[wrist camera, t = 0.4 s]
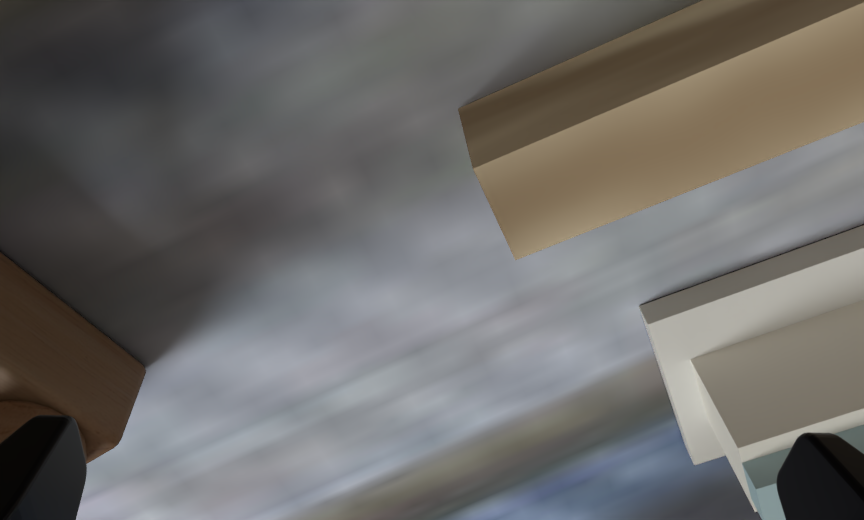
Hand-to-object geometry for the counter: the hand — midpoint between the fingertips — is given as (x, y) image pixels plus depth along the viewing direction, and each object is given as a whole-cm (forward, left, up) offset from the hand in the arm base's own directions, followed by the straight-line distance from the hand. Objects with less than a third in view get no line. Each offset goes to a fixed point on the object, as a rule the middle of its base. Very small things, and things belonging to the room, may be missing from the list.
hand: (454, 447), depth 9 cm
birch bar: (-3, -11, -14) cm, 18 cm away
